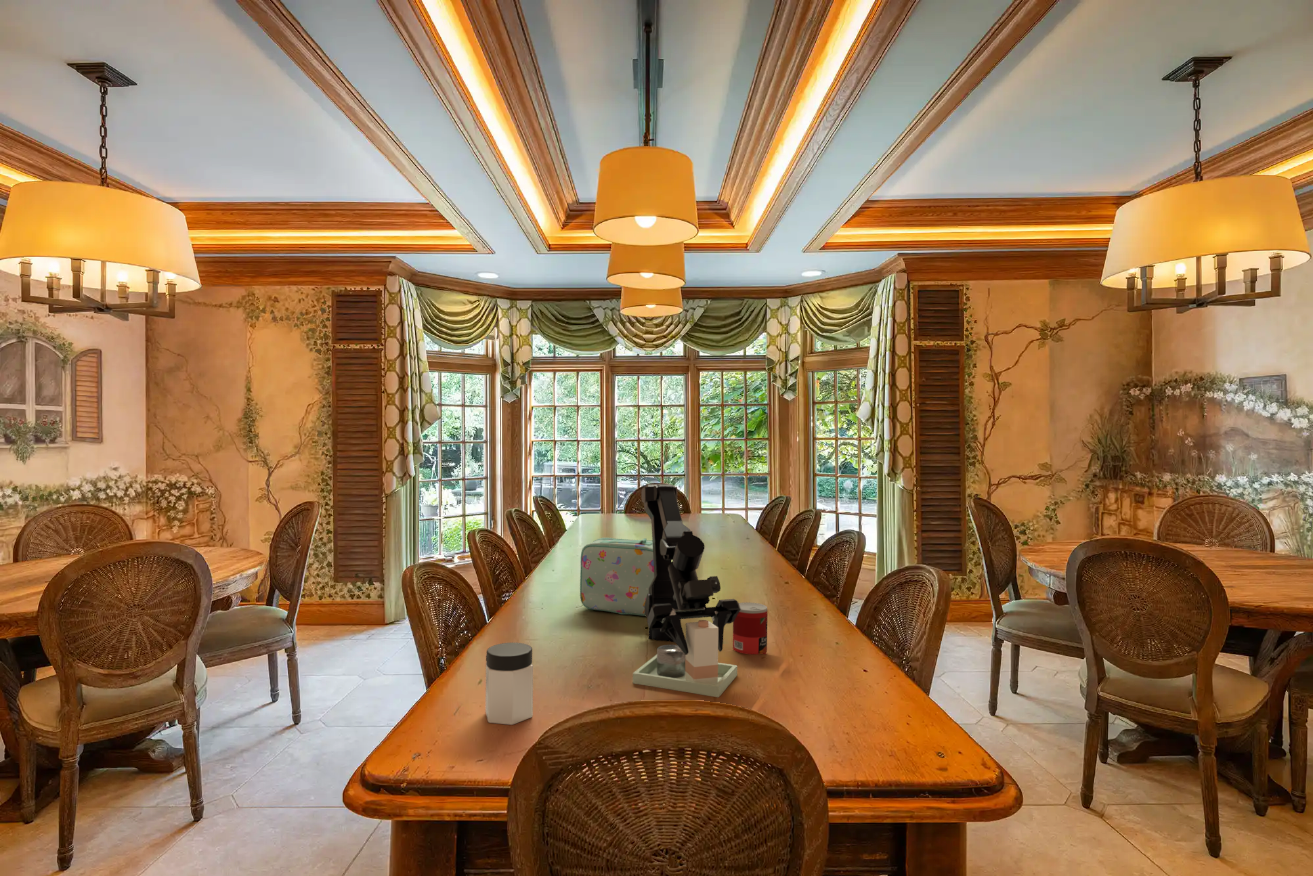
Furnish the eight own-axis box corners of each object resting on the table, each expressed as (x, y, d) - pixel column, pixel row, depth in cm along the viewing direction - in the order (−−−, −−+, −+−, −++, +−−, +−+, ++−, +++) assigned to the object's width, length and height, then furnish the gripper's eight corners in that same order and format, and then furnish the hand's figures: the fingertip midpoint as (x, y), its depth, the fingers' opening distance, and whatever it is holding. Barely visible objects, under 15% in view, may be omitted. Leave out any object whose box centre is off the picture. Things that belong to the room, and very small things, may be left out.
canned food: (766, 659, 155) (766, 611, 155) (731, 657, 156) (731, 609, 156) (767, 649, 162) (768, 603, 162) (734, 646, 164) (734, 601, 164)
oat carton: (685, 682, 138) (685, 617, 138) (708, 679, 139) (708, 616, 139) (693, 691, 133) (694, 624, 133) (717, 688, 134) (718, 622, 134)
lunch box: (676, 611, 196) (677, 537, 196) (665, 620, 186) (665, 542, 186) (591, 602, 205) (592, 531, 205) (576, 611, 195) (577, 536, 195)
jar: (514, 702, 129) (515, 638, 129) (542, 713, 124) (543, 648, 124) (474, 716, 122) (475, 650, 122) (502, 729, 117) (503, 660, 117)
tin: (652, 675, 141) (652, 651, 141) (663, 666, 147) (663, 643, 147) (679, 679, 139) (679, 655, 139) (689, 670, 144) (689, 647, 144)
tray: (632, 688, 137) (632, 673, 137) (657, 667, 149) (657, 653, 149) (718, 702, 130) (718, 686, 130) (737, 679, 142) (737, 665, 142)
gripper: (652, 564, 137) (668, 635, 126) (737, 560, 142) (760, 627, 132) (640, 594, 144) (655, 663, 134) (722, 589, 150) (742, 655, 139)
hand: (704, 652), depth 135 cm, fingers open, 7 cm apart
